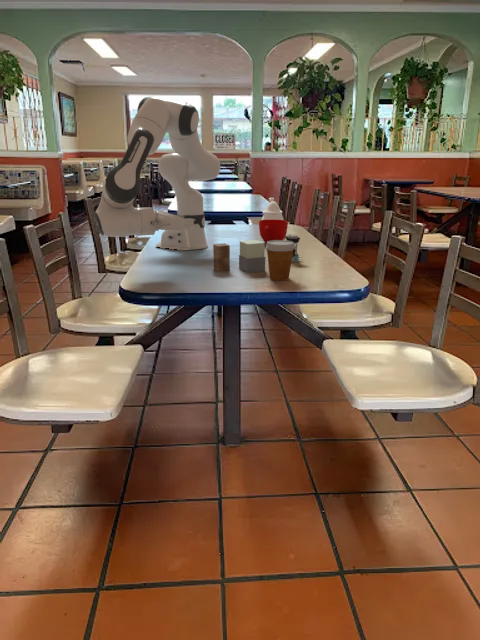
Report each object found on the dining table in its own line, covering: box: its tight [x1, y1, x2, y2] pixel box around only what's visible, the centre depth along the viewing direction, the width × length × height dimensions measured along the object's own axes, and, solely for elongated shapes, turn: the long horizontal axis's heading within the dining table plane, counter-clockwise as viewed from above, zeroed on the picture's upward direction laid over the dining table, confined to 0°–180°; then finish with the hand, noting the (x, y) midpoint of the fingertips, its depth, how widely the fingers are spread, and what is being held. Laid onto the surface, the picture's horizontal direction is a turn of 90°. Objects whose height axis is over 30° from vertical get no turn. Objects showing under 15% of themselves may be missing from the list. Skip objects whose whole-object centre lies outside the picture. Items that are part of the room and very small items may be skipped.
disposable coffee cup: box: [265, 239, 296, 282], centre depth 163 cm, size 10×10×12 cm
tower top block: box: [239, 239, 266, 259], centre depth 174 cm, size 6×6×5 cm
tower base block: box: [238, 254, 266, 273], centre depth 176 cm, size 7×7×5 cm
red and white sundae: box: [258, 197, 285, 237], centre depth 245 cm, size 13×13×18 cm
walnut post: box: [212, 243, 231, 273], centre depth 174 cm, size 4×4×9 cm
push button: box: [285, 234, 303, 263], centre depth 188 cm, size 7×5×10 cm
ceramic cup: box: [258, 219, 288, 245], centre depth 223 cm, size 13×17×10 cm
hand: (188, 219), depth 165 cm, fingers open, 8 cm apart
